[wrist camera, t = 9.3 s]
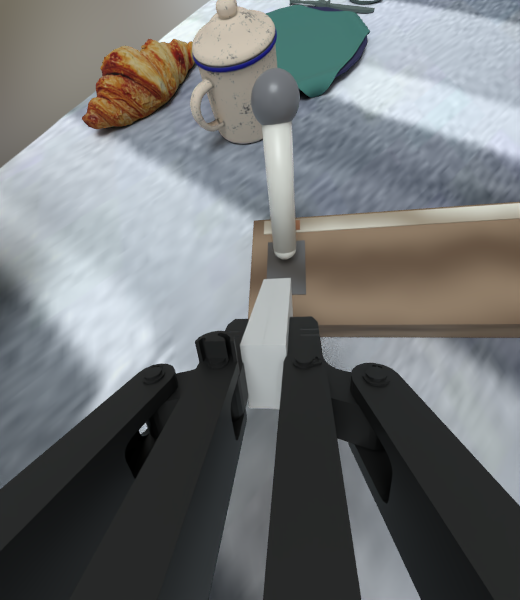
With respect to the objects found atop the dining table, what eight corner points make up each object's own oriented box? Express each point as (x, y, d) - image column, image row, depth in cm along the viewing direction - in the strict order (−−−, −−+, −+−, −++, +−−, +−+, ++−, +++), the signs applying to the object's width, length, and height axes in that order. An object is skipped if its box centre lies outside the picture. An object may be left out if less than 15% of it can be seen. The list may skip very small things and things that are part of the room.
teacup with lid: (249, 91, 37) (226, -33, 27) (297, 113, 34) (294, -18, 23) (188, 143, 36) (138, 32, 25) (233, 171, 32) (198, 57, 22)
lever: (303, 266, 20) (299, 61, 13) (267, 267, 20) (243, 70, 13) (302, 249, 22) (299, 65, 15) (270, 250, 23) (251, 73, 15)
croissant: (195, 79, 47) (164, 22, 42) (221, 60, 40) (187, -12, 34) (103, 151, 43) (56, 97, 38) (112, 145, 36) (56, 77, 30)
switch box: (590, 337, 20) (657, 322, 16) (256, 336, 24) (247, 324, 20) (544, 228, 24) (591, 195, 20) (260, 244, 28) (253, 219, 24)
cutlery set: (205, 87, 40) (200, 69, 38) (302, -15, 47) (302, -35, 45) (323, 118, 34) (325, 99, 32) (414, -5, 41) (420, -27, 39)
